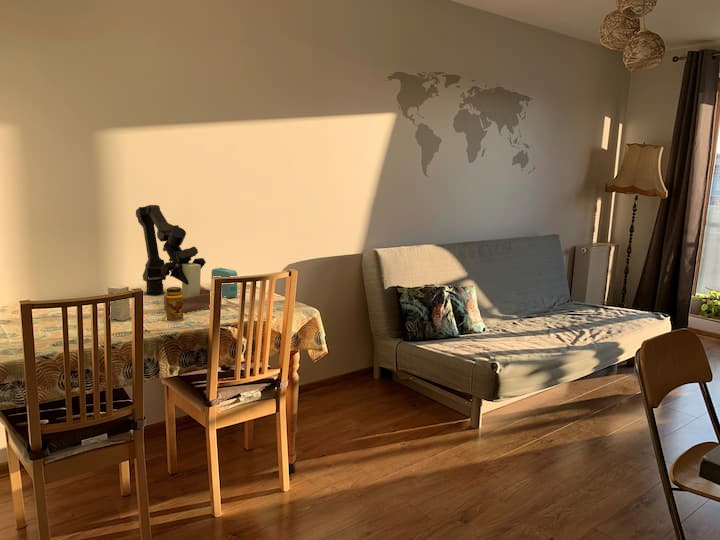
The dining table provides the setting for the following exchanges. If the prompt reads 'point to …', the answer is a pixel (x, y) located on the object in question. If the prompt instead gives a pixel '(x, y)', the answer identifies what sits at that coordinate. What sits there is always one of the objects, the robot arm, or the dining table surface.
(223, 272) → the data package
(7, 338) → the dining table surface
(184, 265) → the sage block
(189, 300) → the walnut box
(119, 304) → the skincare box
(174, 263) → the robot arm
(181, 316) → the condiment
